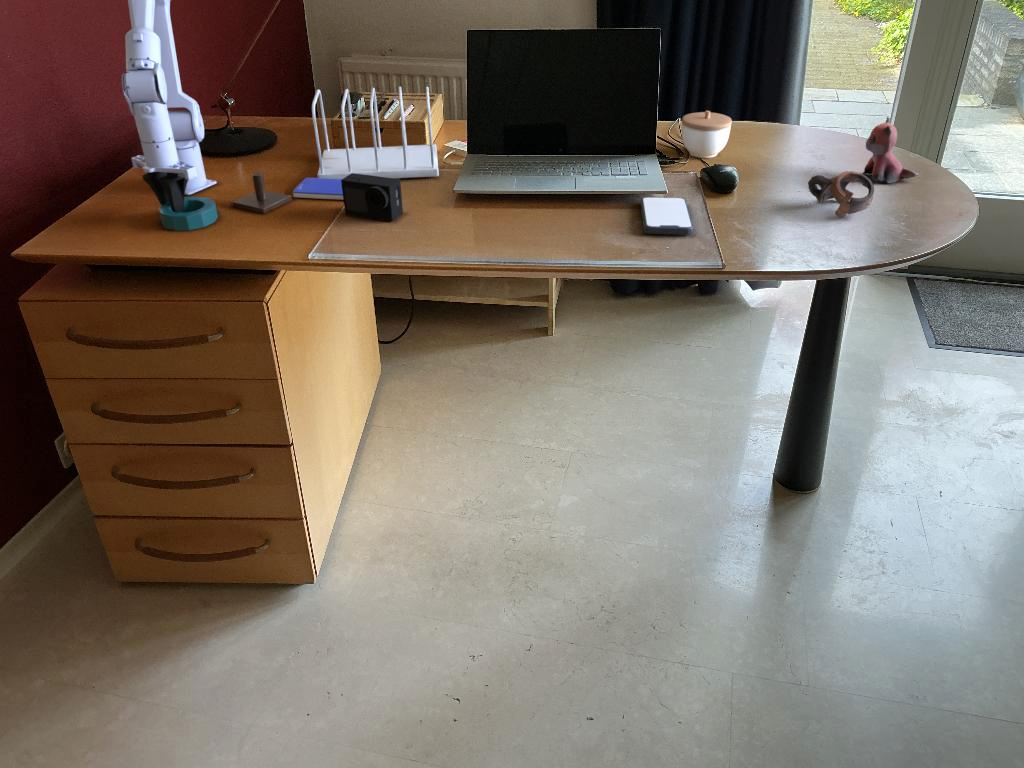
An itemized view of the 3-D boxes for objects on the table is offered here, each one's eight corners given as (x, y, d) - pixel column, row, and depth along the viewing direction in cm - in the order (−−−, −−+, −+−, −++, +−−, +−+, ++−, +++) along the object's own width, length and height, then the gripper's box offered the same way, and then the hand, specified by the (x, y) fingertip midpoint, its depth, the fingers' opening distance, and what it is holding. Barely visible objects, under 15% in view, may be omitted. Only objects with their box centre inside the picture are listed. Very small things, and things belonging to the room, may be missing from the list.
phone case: (639, 204, 167) (644, 235, 154) (640, 196, 167) (644, 227, 153) (685, 205, 167) (693, 236, 153) (686, 197, 166) (694, 228, 152)
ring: (151, 224, 160) (147, 210, 159) (191, 207, 168) (188, 193, 166) (189, 234, 156) (185, 219, 155) (228, 216, 164) (225, 202, 162)
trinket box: (669, 153, 192) (672, 111, 187) (698, 143, 198) (702, 101, 193) (708, 164, 186) (713, 121, 181) (737, 153, 192) (742, 111, 187)
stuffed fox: (920, 187, 173) (935, 128, 166) (862, 185, 175) (875, 126, 168) (911, 175, 179) (926, 117, 173) (855, 172, 181) (868, 115, 174)
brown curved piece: (863, 203, 167) (883, 175, 160) (854, 239, 163) (873, 212, 156) (804, 182, 169) (821, 153, 161) (793, 217, 165) (809, 189, 157)
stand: (232, 206, 168) (227, 177, 164) (261, 193, 174) (256, 164, 170) (263, 213, 164) (258, 183, 161) (291, 200, 170) (287, 170, 167)
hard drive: (292, 190, 170) (352, 193, 169) (307, 176, 177) (364, 179, 175) (293, 198, 171) (353, 201, 170) (308, 183, 178) (365, 186, 176)
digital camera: (341, 217, 163) (336, 181, 159) (355, 207, 167) (351, 172, 163) (389, 224, 160) (386, 188, 156) (403, 214, 164) (400, 178, 160)
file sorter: (436, 152, 194) (432, 81, 186) (439, 178, 180) (434, 103, 171) (324, 157, 192) (315, 85, 184) (318, 184, 178) (307, 107, 169)
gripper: (111, 138, 155) (130, 209, 163) (168, 150, 150) (185, 223, 157) (142, 128, 161) (159, 197, 168) (198, 139, 155) (213, 210, 162)
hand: (173, 209), depth 163 cm, fingers closed on ring, 2 cm apart
